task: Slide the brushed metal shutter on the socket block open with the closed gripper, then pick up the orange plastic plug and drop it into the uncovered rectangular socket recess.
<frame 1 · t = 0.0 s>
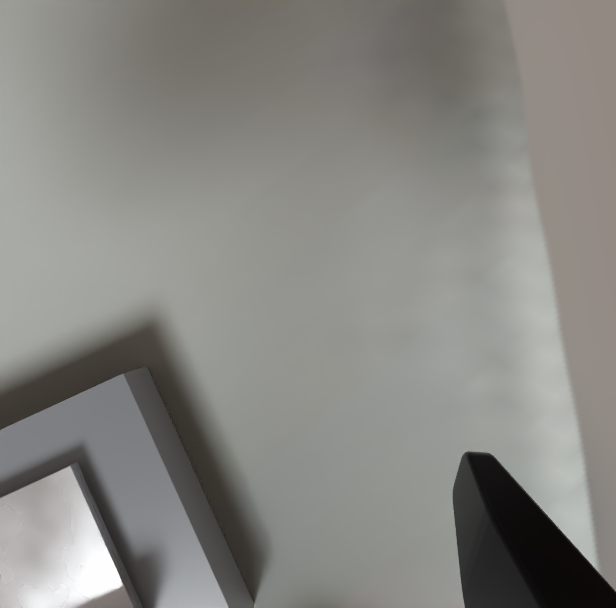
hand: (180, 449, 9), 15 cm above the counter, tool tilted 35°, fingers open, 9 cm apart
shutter: (27, 592, 19), point 5 cm above the counter, slide at 0.0 cm
socket: (82, 538, 24), on the counter
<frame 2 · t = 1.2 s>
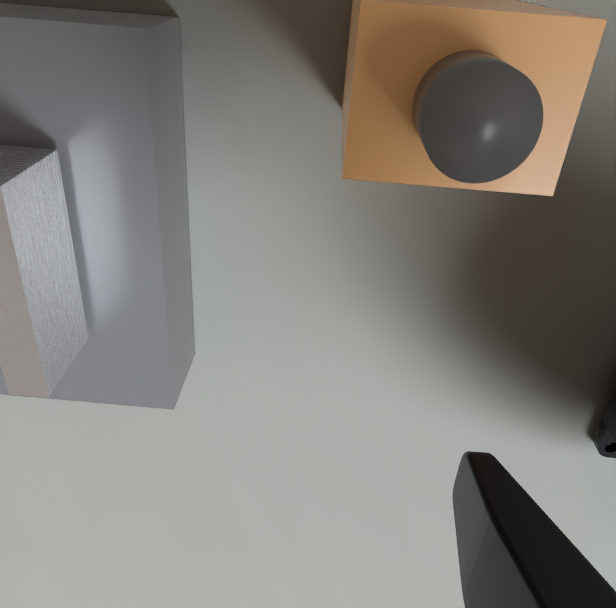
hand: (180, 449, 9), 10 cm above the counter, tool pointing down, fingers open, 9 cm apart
plug: (422, 57, 15), on the counter
socket: (14, 198, 18), on the counter
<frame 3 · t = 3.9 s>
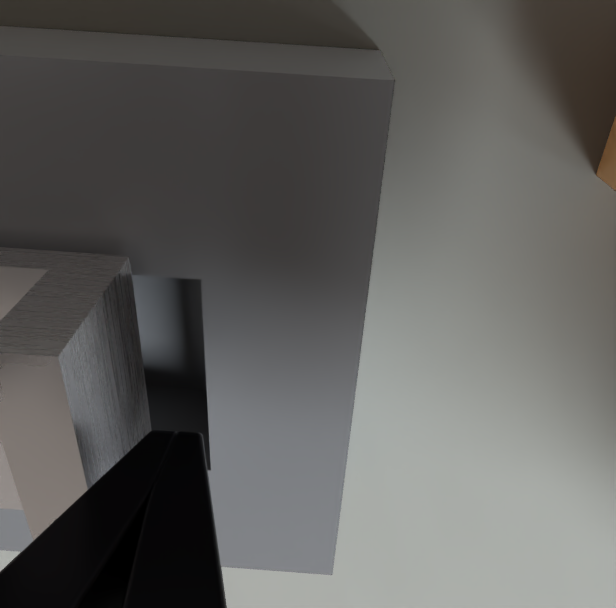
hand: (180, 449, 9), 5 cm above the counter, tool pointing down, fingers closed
socket: (114, 293, 13), on the counter
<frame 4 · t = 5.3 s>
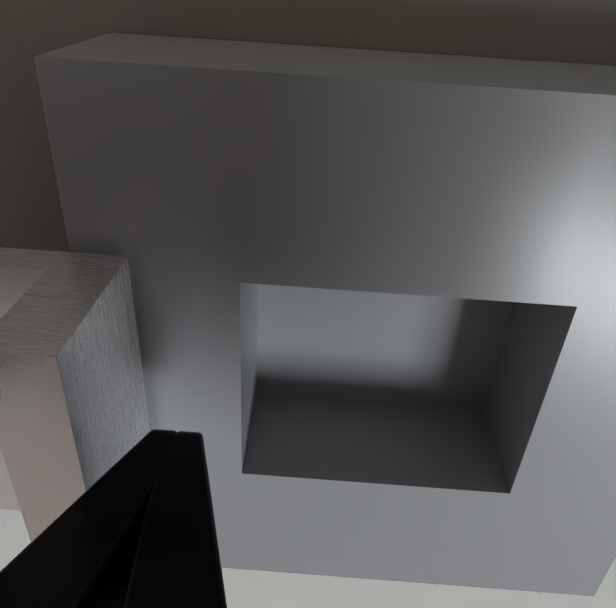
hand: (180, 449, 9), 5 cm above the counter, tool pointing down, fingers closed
socket: (379, 312, 13), on the counter
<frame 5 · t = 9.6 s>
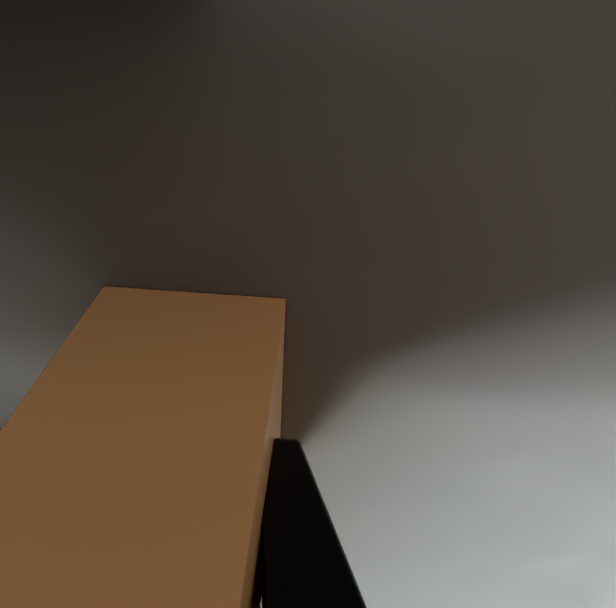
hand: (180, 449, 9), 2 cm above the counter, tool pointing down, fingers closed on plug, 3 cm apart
plug: (200, 386, 10), on the counter, touching gripper
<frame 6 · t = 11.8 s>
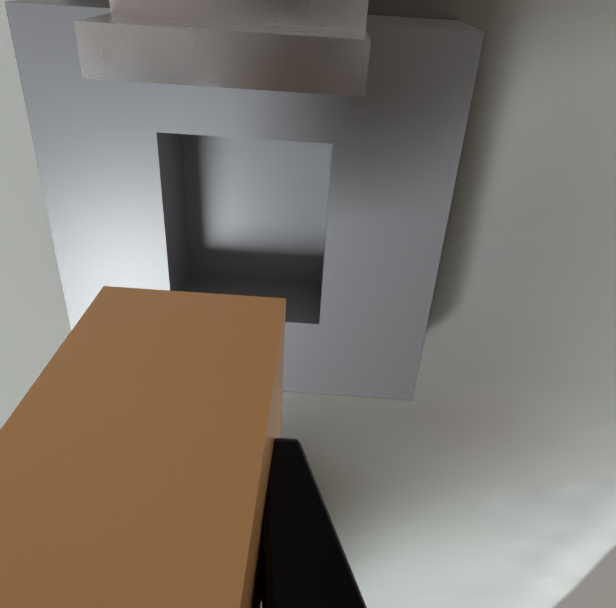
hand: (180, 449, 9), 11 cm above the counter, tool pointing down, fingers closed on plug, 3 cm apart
plug: (200, 386, 10), point 9 cm above the counter, touching gripper
socket: (257, 198, 18), on the counter
when the fingers open (3 cm above the counter, at t = 14.1 s): plug drops 1 cm, resting on socket.
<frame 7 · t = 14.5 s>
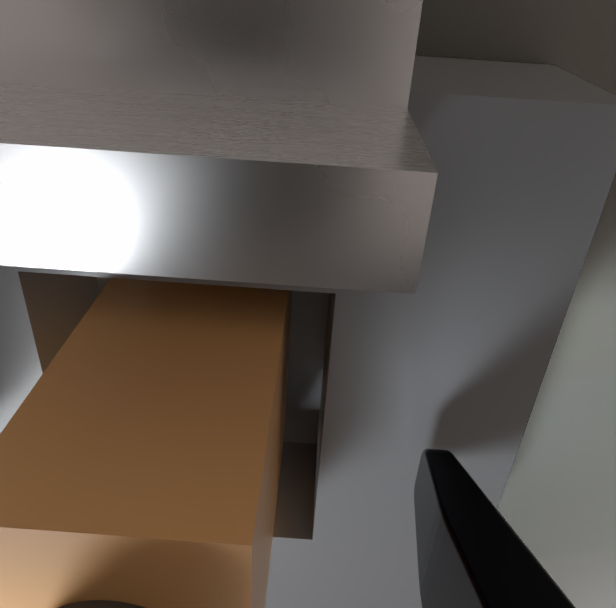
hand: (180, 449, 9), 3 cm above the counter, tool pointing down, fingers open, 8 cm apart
plug: (216, 340, 11), resting on socket
socket: (219, 325, 12), on the counter
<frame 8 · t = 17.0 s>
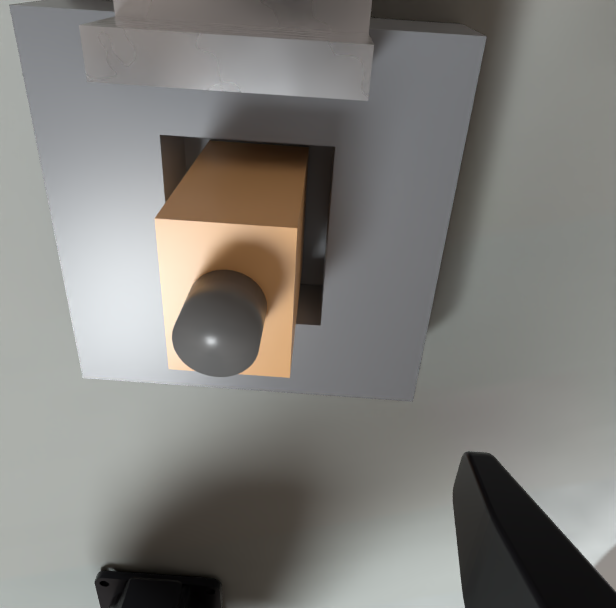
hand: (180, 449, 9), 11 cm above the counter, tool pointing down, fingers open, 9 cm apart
plug: (258, 206, 18), resting on socket
socket: (259, 200, 18), on the counter
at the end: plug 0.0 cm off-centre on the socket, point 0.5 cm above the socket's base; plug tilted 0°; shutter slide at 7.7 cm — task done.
